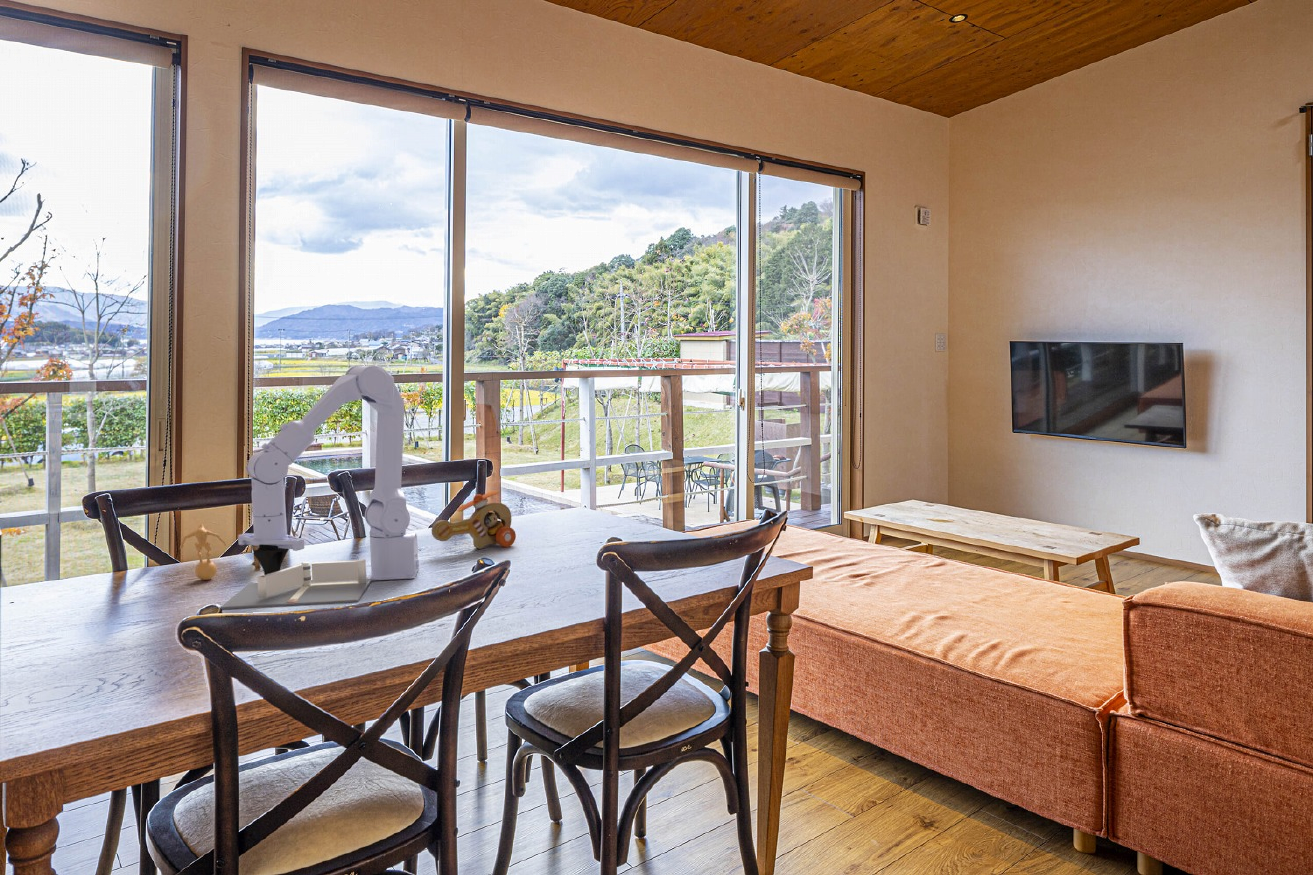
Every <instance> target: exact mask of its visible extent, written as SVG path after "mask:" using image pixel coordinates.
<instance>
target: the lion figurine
mask: <svg viewBox="0 0 1313 875" xmlns="http://www.w3.org/2000/svg"><path fill="white" fill-rule="evenodd" d="M258 548H259V546H256V545H251V550H252V552H253V551H254V550H258ZM251 565H254V566H255V568H254V569H253V570H254V572H260V571H261V569H262V566H261V564H260V562H259V561H258V559H257V558H256V557H255V556H254V555H253V561H252V564H251Z"/></svg>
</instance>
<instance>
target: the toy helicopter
mask: <svg viewBox="0 0 1313 875" xmlns="http://www.w3.org/2000/svg"><path fill="white" fill-rule="evenodd" d="M500 492H501V489H494V490H491V491H489V492H487V493H484V494H483V495H482V494H480V493H479V494H475V495H474V497H473V499H472V500H471V501H468V502H467V503H465V504H463V505H461V506H459V507H458V508H457V509H456V510H457V511H456V512H463V511H466V510H467V509H469V508H471V507H473V508H475V509H476V510H475V511H474V512H473V513H472V514H471V516H470V517H469V518H465V519H460V520H457V521H452V522H450V521H449V520H446V519H445V520H444V519H440V520H437V521H436V522H435V523H433V525H432V527H431V535H432V537H433V538H434V539H435V540H437V541H439V542H446V541H449V540H450V539H451V538H452V537H454V536H460V535H465V534H469V536H470V537H471V538H472V540H473V542H472V543H473V547H474V548H475V549H478V550H481V549H484V548H485V546H487V545H495V544H498V546H501V547H503V548H508V547H511V546H512V545H514V543H515V541H516V538H517V535H516V531H515V530H514V528H512V527H511V525H512V513H511V510H510V508H509V507H508V506H507V505H506V504H504V503H502V502H489V500H488V498H490V497H493V496H494V495H497V494H499V493H500Z"/></svg>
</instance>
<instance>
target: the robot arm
mask: <svg viewBox="0 0 1313 875" xmlns="http://www.w3.org/2000/svg"><path fill="white" fill-rule="evenodd" d="M360 400H364V402H365V401H366V403H367V404H368V405H369V406H370V407H372V408H373V409H374V410H375V412H377V416H376V417H377V420H376V421H377V422H376V444H375V469H374V470H375V471H374V472H375V473H374V488H373V489H372V490H371V493H370V495H369V501H368V505H367V507H366V508H365V511H364V519H365V521H366V524H368V526H370V531H369V546H370V549H369V550H370V570H371V571H370V572H369V574H368V576H366V577H367V580H371V582H372V581H385V580H386V581H388V580H391V581H392V580H407V579H415V578H416V575H417V574H418V572H419V570H420V567H419V565H420V564H419V563H420V562H419V549H418V548H419V547H418V536H417V533H416V532H407V529H408V527H409V525H410V521H411V515H410V512H409V510H408V508H407V498H406V496H405V494H404V492H403V490H402V479H403V477H402V474H403V454H404V453H403V452H404V431H405V430H404V425H405V402H404V400H403V397H402V395H401V394H400V392H399V390H398V388H397V386H396V384H395V377H394V376H393V375H391V374H390V373H389V372H388V371H386V369H385V368H383V367H381V366H379V365H367V366H366V365H359V364H358V365H353V366H351V367H349V369H347V371H346V373H344V374H341V376H339V377H338V378H337V379H336V380H335V382H333V383H332V385H331V386H330V387H329V388H328V390H326V392H325V393H323V395H322V396H321V397H320V398H319V399H318V400H317V401H316V403H314V405H312V407H311V408H310V409H309V410H308V411H307V412H306V414H305V415H304V416H303V417H301V419H299V420H290V421H289V422H288V423H285V422H283V423H282V424H281V425H280V426H279V427H278V428H279V430H280V431H279V432H277V434H276V435H274V437H273V438H272V439H271V440H270V441H269V442H268V443H263V444H262V445H260V448H262V450H261V451H256V452H254V454H252V455H251V456H250V458H249V460H248V461H247V462H248V463H247V465H246V466H245V470H246V473H247V475H248V476H249V477H250V478H251V491H250V492H251V507H252V524H253V526H252V527H253V533H252V532H251V533H248V532H244V533H241V534H238V535H237V536H238V537H237V540H238V545H239V546H244V545H249V546H252V545H256V546H259V548H258V550H254V551H253V550H252V553H253V557H254V556H255V557H256V558H257V559H258V561H259V563H260V567H261V569H262V571H263V573H264V574H263V575H266V574H270V573H273V572H276V571H280V570H281V568H282V564H283V562H284V559H285V557H286V555H287V554H288V552H289V551H290V550H292V551H295V552H297V551H301V550H305V539H304V538H301V537H296V536H294V535H289V534H288V527H287V511H286V507H287V506H286V493H285V486H284V485H285V483H284V478H286V477H287V476H288V472H289V466H291V465H293V463H295V462H296V460H298V458H299V457H300V456H301V455H302V454H303V453H304V452H305V451H306V450H307V448H309V447H310V446H311V445H312V444H313V442H314V441H315V431H316V430H318V428H320V426H322V425H323V424H324V423H325V422H326V421H327V420H328V419H329V418H330V417H331V416H333V414H335V412H336V411H338V409H340V408H341V407H342V406H343V405H344V404H346V403H350V402H356V401H360Z"/></svg>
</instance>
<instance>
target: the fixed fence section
mask: <svg viewBox="0 0 1313 875" xmlns="http://www.w3.org/2000/svg"><path fill="white" fill-rule="evenodd" d="M300 565H303V577H304V584H302V585H303V586H309V585H311V580H312V582H330V581H350V580H358V583H360V584H364V583H366V577H367V566H366V565H367V563H366V559H357V560H339V561H336V560H335V561H319V562H315V561H313V562H311V561H304V562H301V563H300Z"/></svg>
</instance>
